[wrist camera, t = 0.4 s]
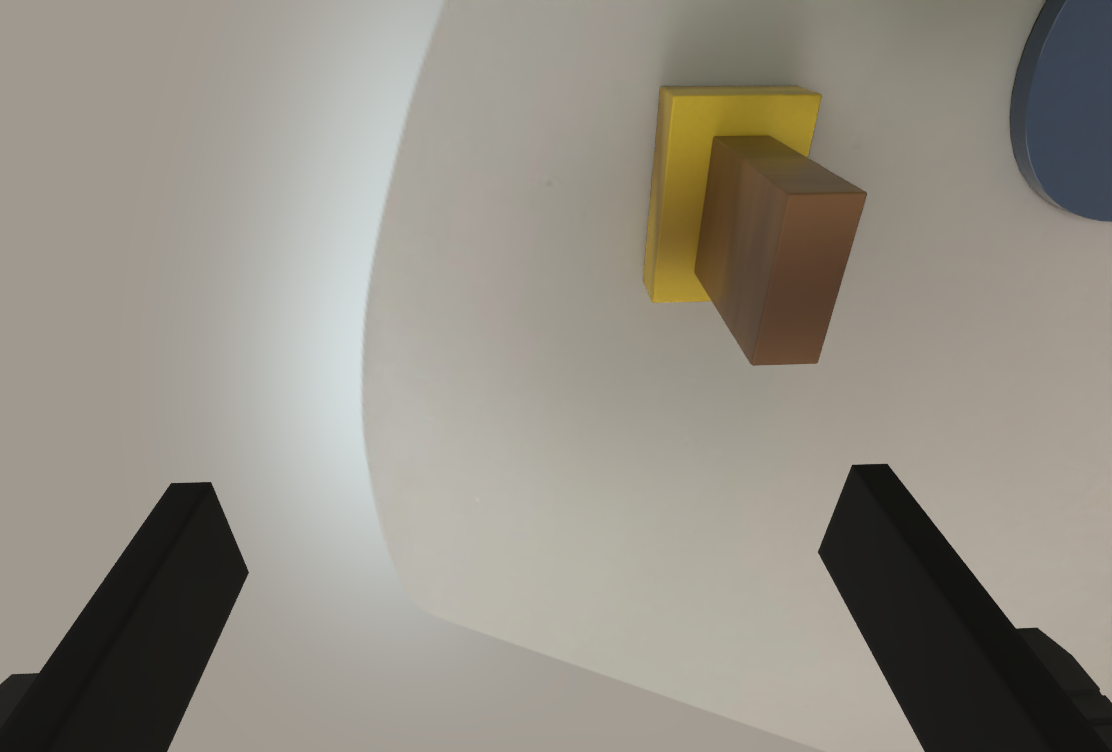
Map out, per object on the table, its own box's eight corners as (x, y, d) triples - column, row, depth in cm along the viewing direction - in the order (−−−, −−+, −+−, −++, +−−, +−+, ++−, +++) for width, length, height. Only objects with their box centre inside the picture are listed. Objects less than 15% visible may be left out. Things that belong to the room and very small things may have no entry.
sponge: (659, 86, 25) (737, 140, 16) (797, 85, 25) (946, 137, 17) (642, 281, 30) (694, 403, 21) (757, 278, 30) (856, 397, 22)
